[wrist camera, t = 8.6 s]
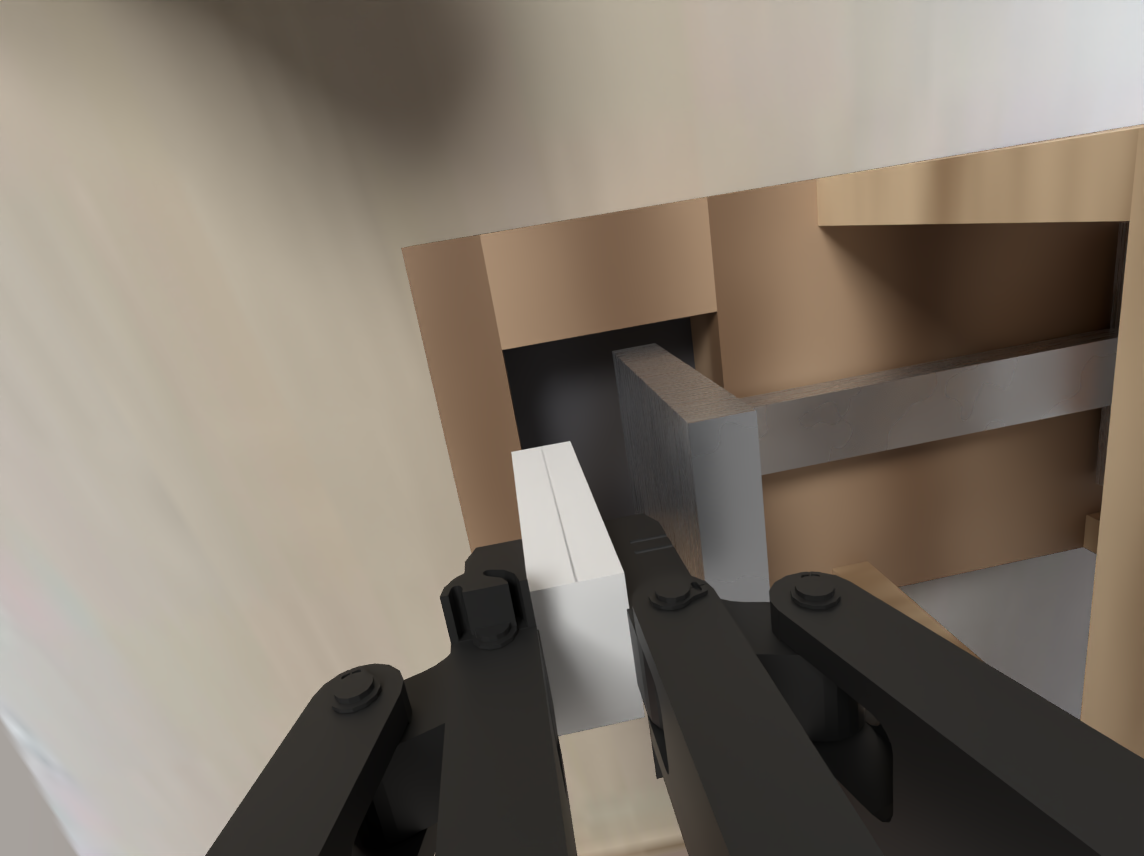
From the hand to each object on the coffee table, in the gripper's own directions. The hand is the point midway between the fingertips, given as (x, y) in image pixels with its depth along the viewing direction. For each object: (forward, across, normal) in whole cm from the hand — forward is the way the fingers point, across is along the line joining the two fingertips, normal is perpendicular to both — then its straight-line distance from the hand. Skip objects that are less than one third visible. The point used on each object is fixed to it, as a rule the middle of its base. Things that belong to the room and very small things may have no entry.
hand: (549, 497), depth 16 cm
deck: (+5, +14, 0) cm, 15 cm away
